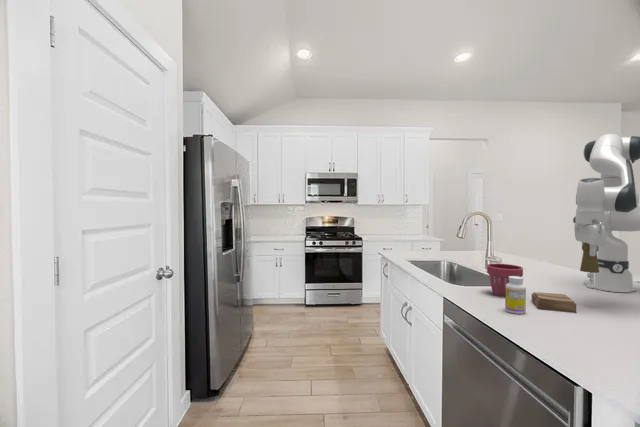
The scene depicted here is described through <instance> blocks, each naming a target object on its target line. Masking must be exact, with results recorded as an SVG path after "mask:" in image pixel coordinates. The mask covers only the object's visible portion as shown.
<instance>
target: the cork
mask: <svg viewBox="0 0 640 427" xmlns="http://www.w3.org/2000/svg"><path fill="white" fill-rule="evenodd" d="M598 249H599V247H598V246H597V250H596V255H595V256H589V250H590V247H589V244H587V243H584V244H583V245H582V244H581V250H582V258H581V262H580V263H581V264H580V269H579V271H580V272H583V273H599V266H598V259H597V258H598Z"/></svg>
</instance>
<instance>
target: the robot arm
mask: <svg viewBox="0 0 640 427" xmlns="http://www.w3.org/2000/svg"><path fill="white" fill-rule="evenodd" d="M582 152H583V157H584V160H585V161H586V162H588V163H589V166H590V167H591V169H592V170H593V171H595V172H597V173H598V174H600V177H589V178H582V179H580V180H578V182H577V183H578V184H577V188H576V194H575V204H576V205H577V208H576V209H575V216H574V217H573V218H572V223H573V224H574V237H575V238H574V239H575V241H577V242H580V243H581V246H582V245H583V244H584V243H587V244H589V247H590V250H589V256H595V255H596V250H597V246H598V247H599V249H598V251H597V259H598V266H599V273H590V272H586V277H587V278H589V280H584V281H583V283H584V285H585V286H586V287H587V288H590V289H595V290H601V291H604V292H605V291H606V292H614V293H633V292H637V288H635V287H634V280H633V274H632V272H631V271H630V270H629V269H630V268H629V267H630V262H629V245H628V243H626V242H625V241H624V240H622V239H620V238H618V237H616V236H615V235H614V234H613V232H640V206H639V203H640V197H639V193H638V191H637V189H636V181H635V175H634V173H635V172H634V170H633V165H632V164H634V163H635V162H636V161H638V160H640V136H636V135H633V136H620V135H618V134H615V133H606V134H603V135H601V136H599V137H598V138H597V140H592V141H589V142H588V143H586V144H585V146H584V149H583V151H582Z"/></svg>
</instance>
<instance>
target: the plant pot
mask: <svg viewBox="0 0 640 427" xmlns="http://www.w3.org/2000/svg"><path fill="white" fill-rule="evenodd" d="M486 273H487V274H488V276H489V281H490V286H491V292H492V294H493V295H495V296H498V297H504V298H505V296H506V284H507V283H509V276H518V277H522V278H523V276H524V268H523V266H520V265H514V264H508V263H488V264H487V265H486Z"/></svg>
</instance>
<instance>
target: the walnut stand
mask: <svg viewBox="0 0 640 427" xmlns="http://www.w3.org/2000/svg"><path fill="white" fill-rule="evenodd" d="M531 302H532V304H533V305H534V306H535V307H536V308H537V309H538V310H544V311H553V312H564V313H575V314H576V313H577V303H576V302H575V301H574V299H572V298H570V297H569V296H567V295H566V294H564V293H563V294H561V293H550V292H539V291H537V292H536V291H533V293H531Z"/></svg>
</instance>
